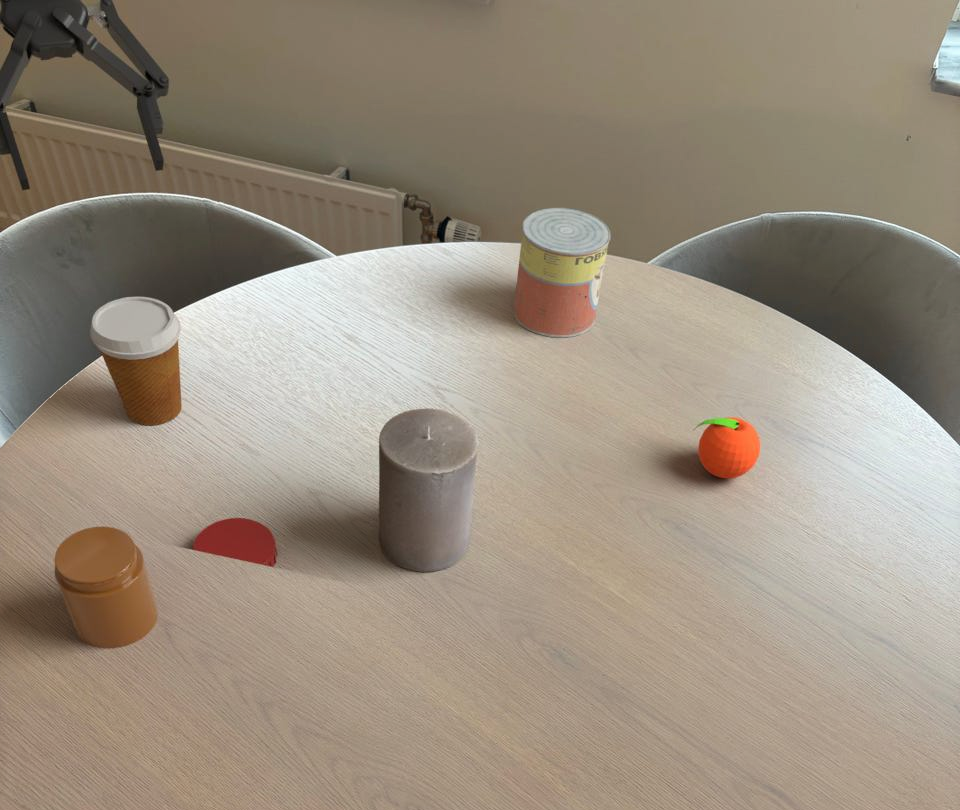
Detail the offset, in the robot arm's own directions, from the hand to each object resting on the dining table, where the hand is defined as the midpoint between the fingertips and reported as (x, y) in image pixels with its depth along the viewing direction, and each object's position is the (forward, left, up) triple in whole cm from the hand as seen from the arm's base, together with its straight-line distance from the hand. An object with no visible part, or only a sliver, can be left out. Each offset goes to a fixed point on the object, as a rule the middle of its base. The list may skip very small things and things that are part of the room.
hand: (93, 175), depth 102 cm
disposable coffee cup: (+5, -7, -24) cm, 25 cm away
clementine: (+71, +2, -24) cm, 75 cm away
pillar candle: (+41, -19, -24) cm, 51 cm away
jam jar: (+16, -39, -24) cm, 48 cm away
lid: (+23, -27, -22) cm, 42 cm away
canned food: (+47, +28, -24) cm, 60 cm away
